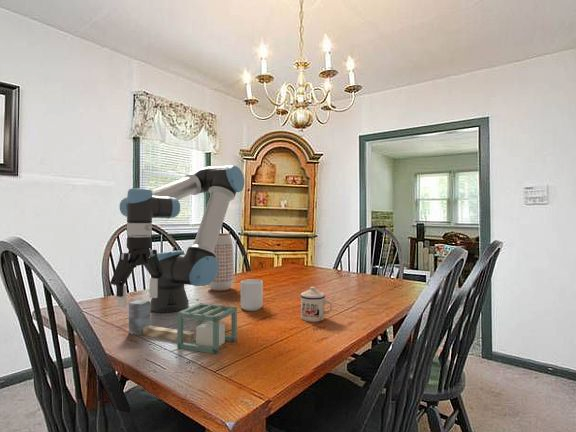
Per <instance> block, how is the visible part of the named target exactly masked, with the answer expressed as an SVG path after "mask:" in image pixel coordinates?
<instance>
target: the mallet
mask: <svg viewBox="0 0 576 432" xmlns="http://www.w3.org/2000/svg"><path fill="white" fill-rule="evenodd" d="M150 302H151V300H150V301H149V300H141V299H138V300H135V301H131V302H128V334H129V333H131V334H130V335H133V334H136V335H135V336H139V335H142V336H146V335H147V336H146V337H153V338H159V339H164V340H171V341H176V342H177V329H175V328H168V327H161V326H155V325H151V310H150ZM195 341H196V331H189V330H188V331H187V330H183V343H190V344H191V343H193V342H195Z"/></svg>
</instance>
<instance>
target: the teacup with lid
mask: <svg viewBox="0 0 576 432" xmlns="http://www.w3.org/2000/svg"><path fill="white" fill-rule="evenodd" d="M325 298H326V293H324V292H322V291H319V290H318V289H316V286H310V288H309V289H308V290H305V291H303V292H301V294H300V303H301V304H300V310H301V311H300V312H301V313H300V319H302V320H303V321H305V322H310V323H311V322H314V323H317V322H321V321H324V319H325V315H327V314H329V313H331V311H333V307H334V306H333V303H332V301H330V300H329V299H325ZM325 303H328V304H329V306H330V307H329V310H327V311H325Z"/></svg>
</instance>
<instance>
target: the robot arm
mask: <svg viewBox="0 0 576 432" xmlns="http://www.w3.org/2000/svg"><path fill="white" fill-rule="evenodd" d="M244 177H245V176H244V173H243V171H242V170H241V168H240V167H239V166H237V165H230V164H227V165H220V166H218V165H217V166H205V167H203V168H200V169H197V170H195V171H192V172H190V173H187V174H186V175H185V176H184V177H183V178H181V179H178V180H175V181H172V182H170V183H168V184H165V185H163V186H160V187H158V188H155V189H154V188H153V189H150V188H141V187H137V188H134V187H133V188H130V189H128V191H127V195H126V196H127V197H124V198H123V199H122V200H120V203H119V211H120V213H121V215H122V216H124V217H125V218H126V236H128V237H127V238H126V248H127V250H128V252H120V253H119V257H118V258H119V259H118V261H117V264H116V267H115V270H114V272H113V275H112V277H111V280H110V285H113V286H115V287H116V289H115V291H116V294H115V296H116V297H117V307H119V308H127V285H125V284H126V282H127V281H128V279H129V278H130V276H131V274H132V272H133V271H134V269H135V268H137V267H138V266H144V268H145V269H146V271H147V272H148V273H149V275H150V276H151V277H150V278H149V298H151V300H150V312H154V313H174V312H180V311H182V310H185V309H187V308H190V307H189V303H190V301H189V299H188V296H187V293H186V292H187V291H186V290H185V285H187V286H193V287H207V286H208V284H210V283H211V282H213V280H214V279H215V277H216V275H217V273H218V261H217V260H216V254H215V253H214V249H215V246H216V243H217V240H218V236H219V233H221V230H222V226H223V223H224V220H225V218H226V213H227V211H228V209H229V206H230V202H231V201H233V200H234V199H235V197H236V195H237V193H240V192H242V191H243V190H244V187H245V178H244ZM202 193H203V194H204V193H205V194H206V193H209V194H210V195H209V198H208V202H207V204H206V207H205V210H204V213H203V216H202V219H201V222H200V224H199V227H198V230H197V232H196V235H195V239H194V241H193V244H192V245H191V246H188V247H187V249H186V252H185V251H184V250H182V249H181V250H173V251H172V250H170V251H164V252H163V251H162V252H159V253H158V251H157V249H151V248H152V246H153V244H152V243H153V238H152V235H153V230H152V229H153V226H152V224H153V219H174V218H176V217H177V216H178V215H179V214H180V212H181V203H180V201H179V200H182V199H184V198H186V197H188V196H191V195H192V196H196V195H199V194H202Z"/></svg>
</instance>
